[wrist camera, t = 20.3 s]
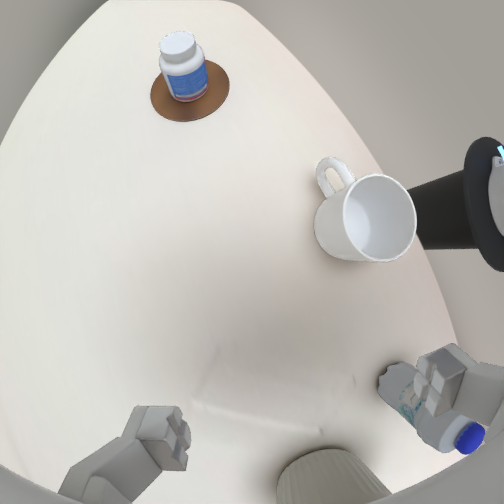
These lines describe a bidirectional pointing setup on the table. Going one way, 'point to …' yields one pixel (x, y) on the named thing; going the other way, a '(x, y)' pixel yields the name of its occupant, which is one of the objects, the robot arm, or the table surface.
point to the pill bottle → (183, 66)
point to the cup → (363, 216)
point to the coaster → (191, 109)
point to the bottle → (428, 414)
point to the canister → (329, 480)
